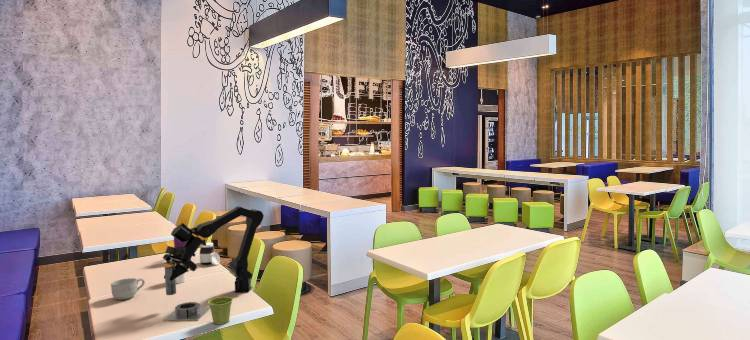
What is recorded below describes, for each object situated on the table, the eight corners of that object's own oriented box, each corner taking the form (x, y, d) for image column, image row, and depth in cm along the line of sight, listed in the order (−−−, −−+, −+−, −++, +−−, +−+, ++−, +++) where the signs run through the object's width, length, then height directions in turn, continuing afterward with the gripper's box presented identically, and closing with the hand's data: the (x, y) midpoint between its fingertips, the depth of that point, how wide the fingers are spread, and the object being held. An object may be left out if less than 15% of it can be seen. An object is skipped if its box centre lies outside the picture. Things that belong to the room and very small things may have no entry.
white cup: (180, 284, 237) (179, 264, 236) (166, 283, 239) (165, 264, 238) (189, 279, 245) (189, 260, 244) (176, 278, 246) (175, 260, 246)
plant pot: (206, 320, 190) (205, 299, 190) (230, 315, 195) (229, 295, 194) (211, 328, 182) (210, 306, 181) (236, 323, 187) (235, 301, 186)
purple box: (176, 264, 275) (175, 238, 274) (171, 258, 288) (170, 234, 287) (193, 261, 280) (192, 236, 279) (186, 256, 293) (185, 232, 292)
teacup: (111, 303, 211) (110, 285, 211) (112, 296, 221) (111, 279, 220) (145, 298, 218) (144, 281, 217) (145, 291, 227) (144, 275, 227)
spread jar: (203, 261, 280) (202, 242, 279) (222, 260, 281) (221, 241, 280) (197, 267, 268) (196, 246, 267) (218, 266, 269) (217, 246, 268)
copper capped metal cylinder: (178, 291, 205) (177, 262, 204) (173, 295, 200) (172, 265, 199) (168, 291, 205) (167, 262, 204) (163, 295, 200) (162, 265, 199)
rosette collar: (210, 307, 204) (210, 300, 203) (197, 320, 190) (197, 312, 189) (178, 307, 204) (178, 300, 204) (163, 320, 190) (162, 312, 190)
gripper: (165, 235, 209) (142, 266, 202) (189, 241, 198) (165, 273, 190) (183, 249, 216) (161, 279, 208) (206, 255, 205) (184, 287, 197)
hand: (167, 279), depth 201 cm, fingers closed on copper capped metal cylinder, 4 cm apart
